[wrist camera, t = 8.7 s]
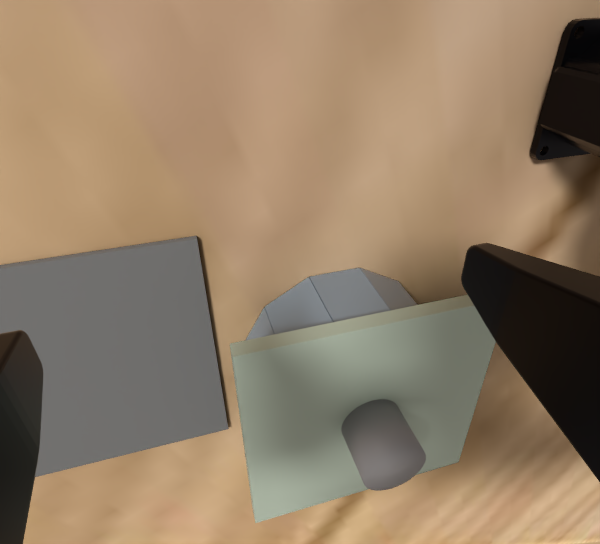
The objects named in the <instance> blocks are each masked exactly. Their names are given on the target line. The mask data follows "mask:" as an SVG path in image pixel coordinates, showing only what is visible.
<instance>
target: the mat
mask: <svg viewBox="0 0 600 544" xmlns="http://www.w3.org/2000/svg"><path fill="white" fill-rule="evenodd" d="M17 330H22V331H25V332H26V333H27V334H28V336H29V338H30V340H31V342H32V344H33V346H34V348H35V350H36V352H37V354H38V357H39V359H40V361H41V363H42V367H43V394H42V414H41V434H40V448H39V456H38V462H37V468H36V474H35V477H37V476H41V475H45V474H49V473H53V472H58V471H62V470H66V469H70V468H74V467H78V466H82V465H86V464H90V463H94V462H98V461H102V460H106V459H110V458H114V457H118V456H122V455H126V454H130V453H134V452H138V451H142V450H146V449H150V448H154V447H158V446H162V445H166V444H170V443H174V442H178V441H182V440H186V439H190V438H194V437H198V436H202V435H206V434H210V433H214V432H218V431H222V430H226V429H228V424H227V418H226V412H225V405H224V399H223V393H222V387H221V381H220V375H219V369H218V363H217V357H216V351H215V345H214V339H213V333H212V327H211V321H210V315H209V309H208V302H207V296H206V290H205V284H204V278H203V272H202V266H201V260H200V254H199V248H198V242H197V236H192V237H185V238H179V239H172V240H165V241H159V242H152V243H145V244H139V245H132V246H125V247H119V248H112V249H105V250H99V251H92V252H85V253H79V254H72V255H65V256H59V257H52V258H45V259H39V260H32V261H25V262H19V263H12V264H5V265H0V334H1V333H6V332H12V331H17Z"/></svg>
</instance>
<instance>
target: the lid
mask: <svg viewBox="0 0 600 544" xmlns="http://www.w3.org/2000/svg"><path fill="white" fill-rule="evenodd" d="M495 343H496V341H495V340H494V338H493V336H492V335H491V333H490V332H489V330H488V328H487V326H486V325H485V323H484V321H483V320H482V318H481V316H480V315H479V313H478V311H477V310H476V308H475V306H474V304H473V303H472V301H471V299H470V298H469V296H468V295H463V296H458V297H454V298H449V299H444V300H439V301H434V302H429V303H424V304H420V305H415V306H410V307H405V308H400V309H395V310H391V311H386V312H381V313H376V314H371V315H366V316H362V317H357V318H352V319H347V320H342V321H337V322H332V323H328V324H323V325H318V326H313V327H308V328H303V329H299V330H294V331H289V332H284V333H279V334H274V335H270V336H265V337H260V338H255V339H250V340H245V341H240V342H236V343H231V344H230V349H231V356H232V363H233V371H234V378H235V385H236V392H237V399H238V407H239V414H240V421H241V428H242V435H243V442H244V450H245V457H246V464H247V471H248V478H249V486H250V493H251V500H252V507H253V513H254V518H255V522H256V523H257V522H261V521H264V520H267V519H271V518H274V517H277V516H281V515H284V514H287V513H291V512H294V511H297V510H301V509H304V508H307V507H311V506H314V505H317V504H321V503H324V502H327V501H331V500H334V499H337V498H341V497H344V496H347V495H351V494H354V493H357V492H361V491H364V490H367V489H371V490H386V489H391V488H394V487H396V486H399V485H401V484H403V483H405V482H406V481H408V480H410V479H411V478H412V477H414V476H415V475H417V474H421V473H424V472H427V471H431V470H434V469H437V468H441V467H444V466H447V465H451V464H454V463H457V462H459V459H460V456H461V452H462V449H463V446H464V443H465V439H466V436H467V433H468V430H469V427H470V423H471V420H472V417H473V414H474V410H475V407H476V404H477V401H478V397H479V394H480V391H481V388H482V385H483V381H484V378H485V375H486V372H487V368H488V365H489V362H490V359H491V356H492V352H493V349H494V346H495Z"/></svg>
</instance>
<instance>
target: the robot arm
mask: <svg viewBox="0 0 600 544" xmlns="http://www.w3.org/2000/svg"><path fill="white" fill-rule="evenodd" d="M577 28H578V29H577ZM576 29H577V33H576V35H575V31H576ZM574 35H575V36H574ZM542 148H543V149H542ZM541 149H542V151H541ZM540 151H541V152H540ZM590 153H591V154H594V155H596V156H599V157H600V18H586V19H575V20H572V21H571V22H569V23H568V25H567V26H566V28H565V30H564V33H563V36H562V40H561V43H560V47H559V51H558V54H557V58H556V61H555V65H554V69H553V72H552V76H551V79H550V83H549V87H548V90H547V94H546V97H545V101H544V104H543V108H542V112H541V115H540V119H539V122H538V126H537V130H536V133H535V137H534V140H533V144H532V147H531V156H532V157H534V158H536V159H538V160H546V159H553V158H561V157H568V156H575V155H583V154H590ZM461 280H462V285H463V287H464V289H465V291H466V293H467V294H468V296H469V298H470V299H471V301H472V303H473V304H474V306H475V308H476V310H477V311H478V313H479V315H480V316H481V318H482V320H483V321H484V323H485V325H486V326H487V328H488V330H489V332H490V333H491V335H492V336H493V338H494V340H495V341H496V342H497V344H498V345H499V347H500V348H501V350H502V351H503V352H504V354H505V355H506V356H507V358H508V359H509V360H510V362H511V363H512V364H513V366H514V367H515V368H516V370H517V371H518V372H519V374H520V375H521V377H522V378H523V379H524V381H525V382H526V383H527V385H528V386H529V387H530V389H531V390H532V391H533V393H534V394H535V395H536V397H537V398H538V399H539V401H540V402H541V403H542V405H543V406H544V408H545V409H546V410H547V412H548V413H549V414H550V416H551V417H552V418H553V420H554V421H555V422H556V424H557V425H558V426H559V428H560V429H561V430H562V432H563V433H564V435H565V436H566V437H567V439H568V440H569V441H570V443H571V444H572V445H573V447H574V448H575V449H576V451H577V452H578V453H579V455H580V456H581V457H582V459H583V460H584V462H585V463H586V464H587V466H588V467H589V468H590V470H591V471H592V472H593V474H594V475H595V476H596V478H597V479H598V480H599V482H600V277H599V276H595V275H592V274H589V273H586V272H582V271H579V270H576V269H572V268H569V267H566V266H562V265H559V264H556V263H553V262H549V261H546V260H543V259H539V258H536V257H533V256H529V255H526V254H523V253H520V252H516V251H513V250H510V249H506V248H503V247H500V246H496V245H493V244H490V243H483V244H478V245H473V246H471V247H469V249H468V250H467V253H466V258H465V262H464V267H463V271H462V276H461ZM42 394H43V367H42V363H41V361H40V359H39V357H38V354H37V352H36V350H35V348H34V346H33V344H32V342H31V340H30V338H29V336H28V334H27V333H26V332H25V331H22V330H17V331H12V332H6V333H1V334H0V544H23V539H24V534H25V528H26V523H27V518H28V512H29V507H30V501H31V496H32V490H33V485H34V479H35V474H36V468H37V462H38V456H39V448H40V434H41V414H42Z"/></svg>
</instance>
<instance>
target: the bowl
mask: <svg viewBox="0 0 600 544" xmlns="http://www.w3.org/2000/svg"><path fill="white" fill-rule="evenodd" d="M415 305H417V303H416V302H415V301H414V300H413V298H412V297H411V296H410V295H409V294H408V292H407V291H406V290H405V289H404V288H403V286H402V285H401V284H400V283H399V282H398V281H396V280H393V279H390V278H388V277H385V276H382V275H379V274H376V273H373V272H370V271H368V270H365V269H362V268H355V269H349V270H344V271H338V272H333V273H327V274H321V275H316V276H310V277H308V278H306V279H305V280H303V281H302V282H300V283H299V284H297V285H296V286H295V287H293V288H292V289H290V290H289V291H287V292H286V293H284V294H283V295H281V296H280V297H278V298H277V299H275V300H274V301H272V302H271V303H269V304H268V305H266V306H265V307H264V309H263V310H262V312H261V314H260V316H259V317H258V319H257V321H256V323H255V324H254V326H253V328H252V330H251V331H250V333H249V335H248V337H247V339H246V340H250V339H255V338H260V337H265V336H270V335H274V334H279V333H284V332H289V331H294V330H299V329H303V328H308V327H313V326H318V325H323V324H328V323H332V322H337V321H342V320H347V319H352V318H357V317H362V316H366V315H371V314H376V313H381V312H386V311H391V310H395V309H400V308H405V307H410V306H415Z"/></svg>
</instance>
